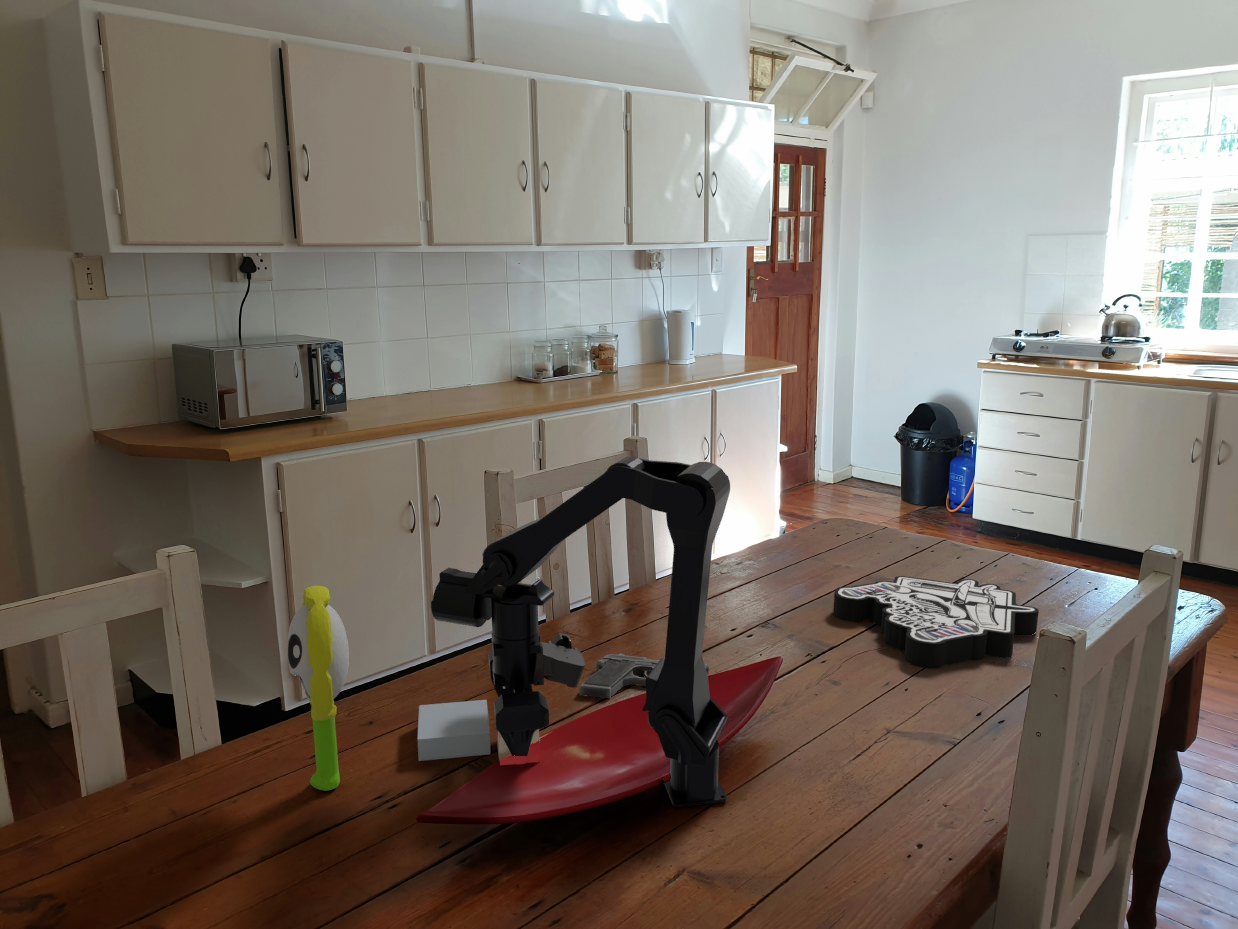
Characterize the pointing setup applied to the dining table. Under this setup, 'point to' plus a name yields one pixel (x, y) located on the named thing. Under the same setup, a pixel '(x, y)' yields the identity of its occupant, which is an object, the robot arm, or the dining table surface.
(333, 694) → the toy
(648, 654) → the dining table surface
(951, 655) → the decorative sign
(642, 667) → the handgun
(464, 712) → the base
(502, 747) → the cube
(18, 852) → the dining table surface
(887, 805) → the dining table surface
